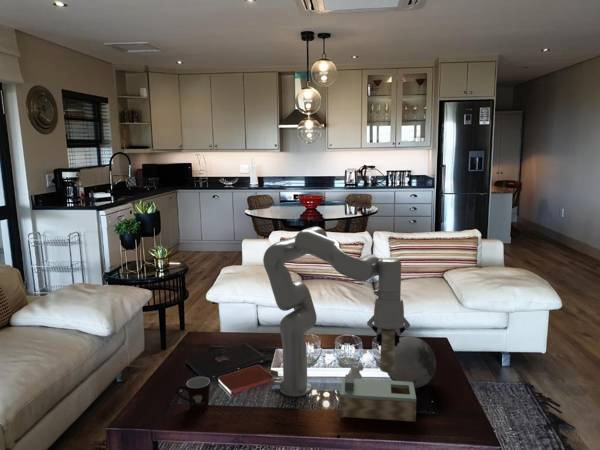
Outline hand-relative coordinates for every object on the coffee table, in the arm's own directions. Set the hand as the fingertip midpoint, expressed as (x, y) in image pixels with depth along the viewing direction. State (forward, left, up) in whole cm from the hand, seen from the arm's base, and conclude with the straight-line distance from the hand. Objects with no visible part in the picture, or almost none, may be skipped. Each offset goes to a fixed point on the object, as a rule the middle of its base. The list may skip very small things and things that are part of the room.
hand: (387, 343), depth 165 cm
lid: (-3, +2, -19) cm, 19 cm away
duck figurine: (-12, +20, -27) cm, 36 cm away
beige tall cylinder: (0, 0, -9) cm, 9 cm away
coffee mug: (-70, -2, -27) cm, 75 cm away
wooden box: (-3, +2, -27) cm, 27 cm away
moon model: (+10, +23, -27) cm, 37 cm away
